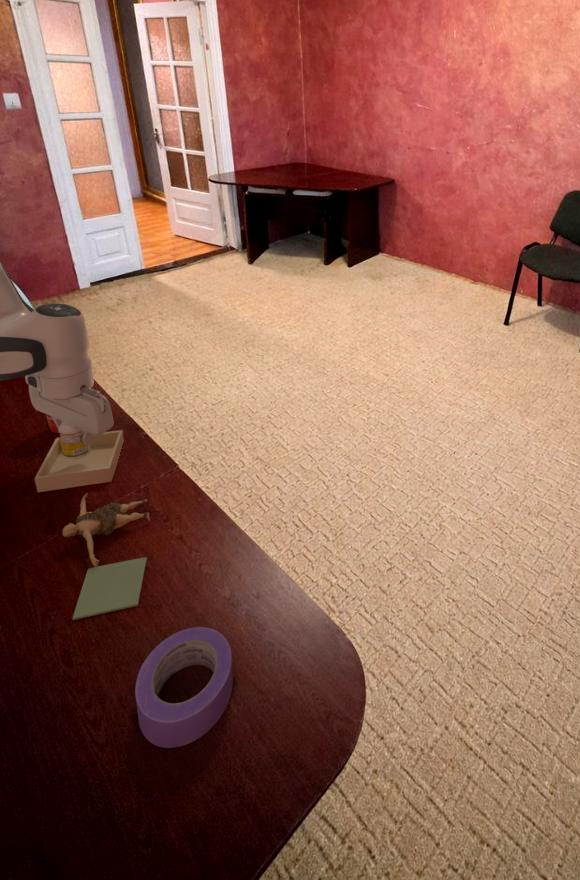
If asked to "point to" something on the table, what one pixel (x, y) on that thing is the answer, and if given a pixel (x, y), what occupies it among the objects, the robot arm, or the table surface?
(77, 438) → the supplement bottle
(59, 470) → the tray
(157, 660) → the tape roll
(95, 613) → the mat
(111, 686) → the table surface
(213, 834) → the table surface
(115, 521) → the figurine
